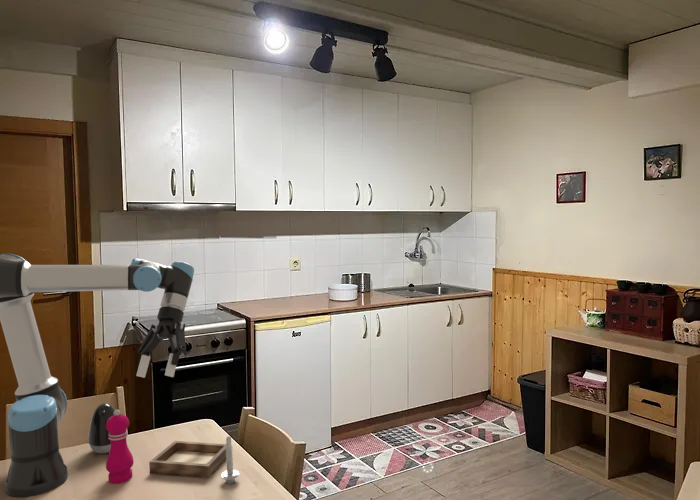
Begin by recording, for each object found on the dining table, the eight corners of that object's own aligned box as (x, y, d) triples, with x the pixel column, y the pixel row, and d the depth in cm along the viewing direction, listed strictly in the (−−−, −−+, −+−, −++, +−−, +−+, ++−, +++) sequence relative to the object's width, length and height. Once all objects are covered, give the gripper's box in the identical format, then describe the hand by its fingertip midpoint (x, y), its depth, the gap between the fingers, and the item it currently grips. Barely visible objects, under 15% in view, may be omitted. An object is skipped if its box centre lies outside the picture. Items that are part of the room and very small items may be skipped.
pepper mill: (124, 485, 148) (120, 415, 147) (101, 483, 149) (96, 413, 148) (139, 473, 155) (135, 405, 154) (117, 471, 156) (113, 404, 155)
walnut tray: (149, 473, 155) (149, 461, 154) (175, 451, 169) (174, 440, 168) (209, 478, 151) (208, 466, 151) (230, 455, 165) (229, 444, 165)
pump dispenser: (87, 460, 164) (84, 411, 163) (89, 446, 174) (87, 401, 173) (123, 453, 168) (121, 406, 167) (123, 441, 178) (121, 396, 177)
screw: (239, 476, 152) (238, 485, 147) (222, 478, 151) (220, 486, 146) (238, 431, 151) (236, 439, 146) (220, 433, 150) (218, 440, 145)
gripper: (207, 309, 165) (191, 378, 157) (157, 316, 179) (139, 379, 170) (189, 301, 160) (171, 372, 151) (138, 308, 174) (119, 374, 165)
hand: (154, 376), depth 161 cm, fingers open, 13 cm apart
